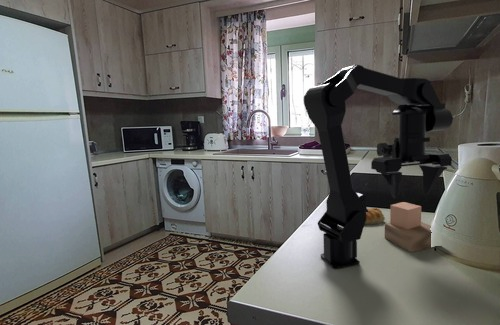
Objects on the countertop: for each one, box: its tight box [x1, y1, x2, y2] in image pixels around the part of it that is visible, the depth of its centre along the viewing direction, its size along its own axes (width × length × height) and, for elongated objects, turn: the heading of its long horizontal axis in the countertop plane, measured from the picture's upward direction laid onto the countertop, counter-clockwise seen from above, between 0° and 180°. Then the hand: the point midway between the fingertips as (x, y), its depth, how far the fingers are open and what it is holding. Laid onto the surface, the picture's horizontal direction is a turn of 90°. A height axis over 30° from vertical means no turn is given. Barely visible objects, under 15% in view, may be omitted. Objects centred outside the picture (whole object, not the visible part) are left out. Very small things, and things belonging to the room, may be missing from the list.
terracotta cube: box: [389, 201, 422, 229], centre depth 75 cm, size 5×5×5 cm
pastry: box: [364, 207, 385, 225], centre depth 91 cm, size 9×7×4 cm
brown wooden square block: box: [384, 221, 432, 253], centre depth 74 cm, size 9×9×4 cm
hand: (410, 195), depth 73 cm, fingers open, 9 cm apart
